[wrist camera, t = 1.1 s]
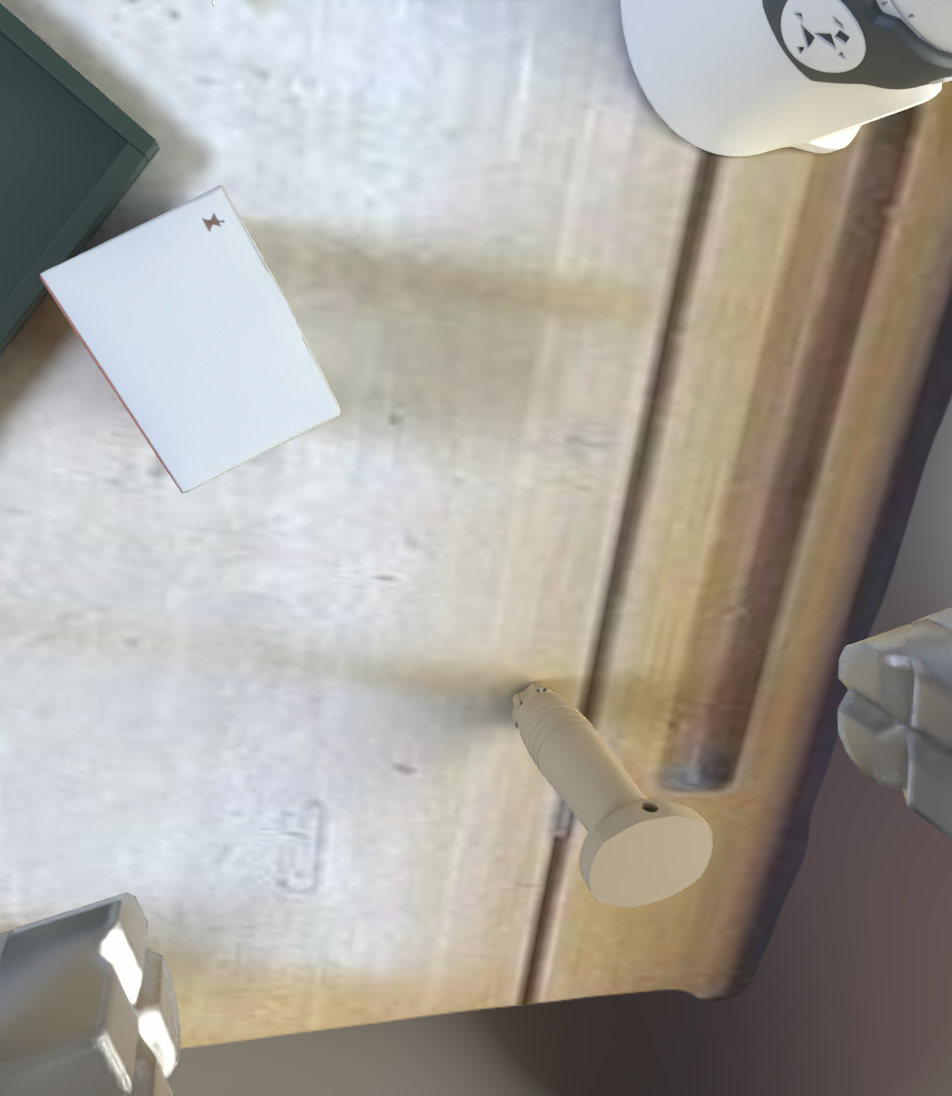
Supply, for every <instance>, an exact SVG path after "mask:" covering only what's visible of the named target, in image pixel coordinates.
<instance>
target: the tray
mask: <svg viewBox="0 0 952 1096" xmlns="http://www.w3.org/2000/svg"><path fill="white" fill-rule="evenodd" d="M159 149H160V148H159V146H158V144H157V142H156V140H155V139H154V138H153V137H152V136H150V135H149V134H148V133H147V132H146V131H145V130H144V129H143V128H141V127H140V126H139V125H138V124H137V123H136V122H135V121H133V120H132V119H131V118H130V117H129V116H128V115H127V114H126V113H124V112H123V111H122V110H121V109H120V108H119V107H118V106H116V105H115V104H114V103H113V102H112V101H111V100H110V99H108V98H107V97H106V96H105V95H104V94H103V93H102V92H101V91H99V90H98V89H97V88H96V87H95V86H94V85H93V84H91V83H90V82H89V81H88V80H87V79H86V78H85V77H84V76H82V75H81V74H80V73H79V72H78V71H77V70H76V69H74V68H73V67H72V66H71V65H70V64H69V63H68V62H67V61H65V60H64V59H63V58H62V57H61V56H60V55H59V54H57V53H56V52H55V51H54V50H53V49H52V48H51V47H49V46H48V45H47V44H46V43H45V42H44V41H43V40H42V39H40V38H39V37H38V36H37V35H36V34H35V33H34V32H32V31H31V30H30V29H29V28H28V27H27V26H26V25H25V24H23V23H22V22H21V21H20V20H19V19H18V18H17V17H15V16H14V15H13V14H12V13H11V12H10V11H9V10H7V9H6V8H5V7H4V6H3V5H2V4H1V3H0V356H1V355H2V353H3V352H4V351H5V349H6V348H7V347H8V346H9V344H10V343H11V342H12V340H13V339H14V338H15V336H16V335H17V334H18V333H19V331H20V330H21V329H22V327H23V326H24V325H25V323H26V322H27V321H28V320H29V318H30V317H31V316H32V314H33V313H34V312H35V310H36V309H37V308H38V307H39V305H40V304H41V303H42V301H43V300H44V299H45V298H46V296H47V295H48V294H49V291H48V289H47V288H46V286H45V285H44V283H43V281H42V280H41V278H40V274H41V273H43V272H44V271H46V270H48V269H50V268H52V267H54V266H56V265H59V264H61V263H63V262H65V261H67V260H69V259H71V258H73V257H75V256H77V255H79V253H80V252H81V251H82V249H83V248H84V247H85V246H86V244H87V243H88V242H89V240H90V239H91V238H92V236H93V235H94V234H95V233H96V231H97V230H98V229H99V227H100V226H101V225H102V223H103V222H104V221H105V220H106V218H107V217H108V216H109V214H110V213H111V212H112V210H113V209H114V208H115V207H116V205H117V204H118V203H119V201H120V200H121V199H122V197H123V196H124V195H125V194H126V192H127V191H128V190H129V188H130V187H131V186H132V184H133V183H134V182H135V181H136V179H137V178H138V177H139V175H140V174H141V173H142V171H143V170H144V169H145V168H146V166H147V165H148V164H149V162H150V161H151V160H152V158H153V157H154V156H155V155H156V153H157V152H158V151H159Z"/></svg>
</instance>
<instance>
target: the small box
mask: <svg viewBox="0 0 952 1096" xmlns="http://www.w3.org/2000/svg"><path fill="white" fill-rule="evenodd" d="M40 278H41V280H42V281H43V283H44V285H45V286H46V288H47V289H48V291H49V292H50V294H51V295H52V297H53V299H54V300H55V302H56V303H57V305H58V306H59V308H60V309H61V311H62V312H63V314H64V315H65V317H66V319H67V320H68V322H69V323H70V325H71V326H72V328H73V329H74V331H75V332H76V334H77V335H78V337H79V338H80V340H81V342H82V343H83V345H84V346H85V348H86V349H87V351H88V352H89V354H90V355H91V357H92V358H93V360H94V361H95V363H96V364H97V366H98V367H99V369H100V370H101V372H102V373H103V375H104V376H105V378H106V379H107V381H108V382H109V384H110V385H111V387H112V388H113V390H114V391H115V393H116V394H117V396H118V398H119V399H120V401H121V402H122V404H123V405H124V407H125V408H126V410H127V411H128V413H129V414H130V416H131V417H132V419H133V420H134V422H135V423H136V425H137V426H138V428H139V429H140V431H141V432H142V434H143V435H144V437H145V438H146V440H147V441H148V443H149V444H150V446H151V447H152V449H153V450H154V452H155V454H156V455H157V457H158V458H159V460H160V461H161V463H162V464H163V466H164V467H165V469H166V470H167V472H168V473H169V475H170V476H171V478H172V479H173V481H174V482H175V484H176V485H177V487H178V488H179V490H180V491H181V493H186V492H189V491H191V490H193V489H195V488H197V487H199V486H201V485H203V484H204V483H206V482H208V481H210V480H212V479H214V478H216V477H218V476H220V475H222V474H224V473H226V472H228V471H230V470H232V469H234V468H236V467H238V466H240V465H242V464H244V463H246V462H248V461H250V460H252V459H254V458H256V457H258V456H260V455H262V454H264V453H266V452H268V451H270V450H272V449H274V448H276V447H278V446H280V445H282V444H284V443H286V442H288V441H290V440H292V439H294V438H296V437H298V436H300V435H302V434H304V433H306V432H308V431H310V430H312V429H314V428H316V427H318V426H320V425H322V424H324V423H326V422H328V421H330V420H332V419H334V418H336V417H338V416H339V415H340V412H341V410H340V407H339V404H338V402H337V400H336V398H335V396H334V394H333V392H332V390H331V388H330V386H329V384H328V382H327V380H326V378H325V376H324V374H323V372H322V370H321V368H320V366H319V364H318V362H317V360H316V358H315V356H314V355H313V353H312V351H311V349H310V347H309V345H308V343H307V341H306V339H305V337H304V335H303V333H302V331H301V329H300V327H299V325H298V323H297V321H296V319H295V317H294V315H293V312H292V310H291V308H290V306H289V304H288V302H287V300H286V299H285V297H284V295H283V293H282V291H281V289H280V287H279V285H278V283H277V281H276V279H275V278H274V276H273V275H272V273H271V272H270V270H269V268H268V266H267V265H266V263H265V261H264V259H263V258H262V256H261V254H260V252H259V250H258V248H257V246H256V245H255V243H254V241H253V239H252V237H251V235H250V233H249V231H248V230H247V228H246V226H245V224H244V222H243V220H242V218H241V217H240V215H239V213H238V211H237V209H236V207H235V206H234V204H233V202H232V200H231V198H230V197H229V195H228V193H227V191H226V190H225V188H224V187H223V186H217V187H215V188H214V189H212V190H210V191H208V192H206V193H204V194H202V195H200V196H198V197H196V198H194V199H192V200H190V201H188V202H186V203H184V204H182V205H180V206H178V207H176V208H174V209H172V210H170V211H168V212H166V213H163V214H161V215H159V216H157V217H155V218H153V219H151V220H149V221H147V222H145V223H143V224H141V225H139V226H137V227H135V228H133V229H131V230H129V231H127V232H125V233H123V234H121V235H119V236H117V237H114V238H112V239H110V240H108V241H106V242H104V243H102V244H100V245H98V246H96V247H94V248H92V249H90V250H88V251H86V252H84V253H81V254H79V255H77V256H75V257H73V258H71V259H69V260H67V261H65V262H63V263H61V264H59V265H56V266H54V267H52V268H50V269H48V270H46V271H44V272H43V273H41V274H40Z"/></svg>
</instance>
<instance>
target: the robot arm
mask: <svg viewBox="0 0 952 1096" xmlns="http://www.w3.org/2000/svg"><path fill="white" fill-rule="evenodd" d="M620 5H621V19H622V27H623V33H624V39H625V43H626V47H627V52H628V55H629V58H630V62H631V65H632V68H633V70H634V73H635V76H636V78H637V80H638V82H639V85H640V87H641V88H642V90H643V92H644V94H645V96H646V98H647V99H648V101H649V103H650V104H651V106H652V107H653V108H654V110H655V111H656V113H657V114H658V115H659V116H660V118H661V119H662V120H663V121H664V122H665V123H666V124H667V125H668V126H669V127H670V128H671V129H672V130H673V131H674V132H675V133H676V134H678V135H679V136H680V137H682V138H683V139H684V140H686V141H687V142H689V143H691V144H692V145H694V146H696V147H698V148H700V149H702V150H705V151H707V152H711V153H714V154H718V155H723V156H732V157H744V156H752V155H758V154H761V153H765V152H768V151H772V150H775V149H779V148H784V147H795V148H798V149H802V150H805V151H809V152H814V153H821V154H826V153H831V152H834V151H836V150H839V149H842V148H844V147H846V146H847V145H848V144H849V143H850V142H851V141H852V140H853V138H854V137H855V135H856V133H857V132H858V130H859V128H860V127H861V125H863V124H866V123H868V122H871V121H874V120H877V119H880V118H883V117H885V116H888V115H891V114H894V113H897V112H899V111H902V110H905V109H908V108H911V107H913V106H916V105H919V104H921V103H924V102H926V101H928V100H930V99H931V98H933V97H934V96H935V95H936V94H938V93H939V92H940V90H941V85H942V83H943V82H949V81H952V0H620ZM838 678H839V679H840V680H841V681H842V682H843V683H844V685H845V686H846V687H847V688H848V691H847V693H846V695H845V697H844V699H843V700H842V702H841V704H840V706H839V708H838V733H839V736H840V738H841V740H842V742H843V745H844V747H845V749H846V752H847V754H848V756H849V757H850V758H851V759H852V760H853V762H854V763H855V764H856V766H857V767H858V768H859V769H860V770H861V771H862V772H864V773H865V774H866V775H867V776H869V777H870V778H871V779H872V780H874V781H875V782H876V783H879V784H883V785H886V786H890V787H893V788H897V789H901V790H903V793H904V796H905V800H906V803H907V806H908V807H909V808H910V809H911V810H913V811H914V812H915V813H917V814H918V815H919V816H921V817H922V818H923V819H925V820H926V821H927V822H929V823H930V824H931V825H932V826H934V827H935V828H936V829H938V830H939V831H941V832H942V833H943V834H944V835H946V836H947V837H948V838H950V839H951V840H952V608H947V609H944V610H942V611H939V612H936V613H934V614H931V615H929V616H926V617H923V618H920V619H918V620H915V621H914V623H911V624H908V625H905V626H902V627H899V628H896V629H893V630H890V631H888V632H885V633H882V634H879V635H876V636H873V637H870V638H867V639H865V640H862V641H859V642H856V643H853V644H850V645H847V646H845V648H844V650H843V652H842V654H841V656H840V658H839V673H838ZM147 925H148V921H147V919H146V917H145V915H144V913H143V911H142V909H141V907H140V905H139V903H138V900H137V898H136V897H135V896H133V895H131V894H129V893H124V894H121V895H118V896H114V897H111V898H108V899H105V900H102V901H99V902H96V903H93V904H89V905H86V906H83V907H80V908H77V909H74V910H71V911H68V912H65V913H61V914H58V915H55V916H52V917H49V918H46V919H43V920H40V921H36V922H33V923H30V924H27V925H24V926H21V927H18V928H17V929H16V930H12V931H7V932H4V933H1V934H0V1096H174V1095H173V1093H172V1091H171V1089H170V1086H169V1085H168V1082H167V1079H168V1077H169V1076H170V1074H171V1072H172V1071H173V1069H174V1067H175V1066H176V1064H177V1062H178V1061H179V1059H180V1024H179V1016H178V1007H177V999H176V995H175V991H174V987H173V984H172V980H171V976H170V973H169V971H168V968H167V966H166V964H165V961H164V959H163V956H162V955H160V954H157V953H155V952H153V951H151V950H149V949H147V948H146V936H147Z"/></svg>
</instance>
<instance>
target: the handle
mask: <svg viewBox="0 0 952 1096" xmlns="http://www.w3.org/2000/svg"><path fill="white" fill-rule="evenodd" d="M512 701H513V703H514V708H513V711H512V712H511V717H512V720H513V722H514V724H515V726H516V728H517V729H519V732H520V735H521V738H522V740H523V742H524V744H525V746H526V748H527V750H528V752H529V754H530V756H531V757H532V759H533V761H534V762H535V764H536V765H537V767H538V768H539V770H540V771H541V773H542V774H543V776H544V777H545V778H546V779H547V780H548V782H549V783H550V784H551V785H552V787H553V788H554V789H555V790H556V792H557V793H558V794H559V795H560V797H561V798H562V799H563V800H564V801H565V803H566V804H567V805H568V806H569V808H570V809H571V810H572V812H573V813H574V814H575V815H576V817H577V818H578V819H579V821H580V822H581V823H582V824H583V826H584V827H585V828H586V830H587V831H588V832H589V833H588V834H587V836H586V838H585V840H584V842H583V845H582V848H581V853H580V864H579V865H580V871H581V875H582V877H583V879H584V881H585V883H586V885H587V887H588V889H589V890H590V892H591V893H592V895H593V897H594V898H595V899H596V901H599V902H603V903H607V904H611V905H615V906H621V907H632V906H639V905H644V904H648V903H653V902H657V901H660V900H664V899H666V898H668V897H670V896H672V895H674V894H676V893H678V892H679V891H681V890H683V889H684V888H686V887H687V886H689V885H691V884H692V883H694V882H696V881H697V880H698V879H699V877H700V876H701V875H702V873H703V872H704V870H705V869H706V867H707V864H708V862H709V860H710V856H711V852H712V845H713V838H712V832H711V829H710V827H709V826H708V824H707V823H706V822H705V821H704V819H703V818H702V817H701V816H700V815H699V814H698V813H697V812H696V811H695V810H693V809H691V808H689V807H686V806H684V805H681V804H678V803H675V802H671V801H667V800H663V799H656V798H645V797H644V795H643V794H642V793H641V791H640V790H639V789H638V787H637V786H636V784H635V783H634V782H633V780H632V779H631V778H630V776H629V775H628V774H627V772H626V771H625V770H624V768H623V767H622V765H621V764H620V763H619V761H618V760H617V758H616V757H615V755H614V754H613V753H612V751H611V750H610V748H609V747H608V745H607V744H606V743H605V741H604V740H603V738H602V737H601V735H600V734H599V733H598V732H597V730H596V729H595V728H594V727H593V726H592V724H591V723H590V722H589V721H588V720H587V719H586V718H585V717H584V716H583V715H582V714H581V713H580V712H579V711H578V710H577V709H576V708H575V707H574V706H573V705H572V704H571V703H569V702H568V701H567V700H566V699H564V698H563V697H562V696H561V695H560V694H559V693H558V692H556V691H555V690H553V689H547V688H546V687H545V686H544V685H543V684H542V683H540V682H533V683H531V684H530V685H529V686H528V687H527V688H526V689H525V690H523V691H521V692H519V693H516V694H515V695H514V697H513V699H512Z"/></svg>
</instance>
